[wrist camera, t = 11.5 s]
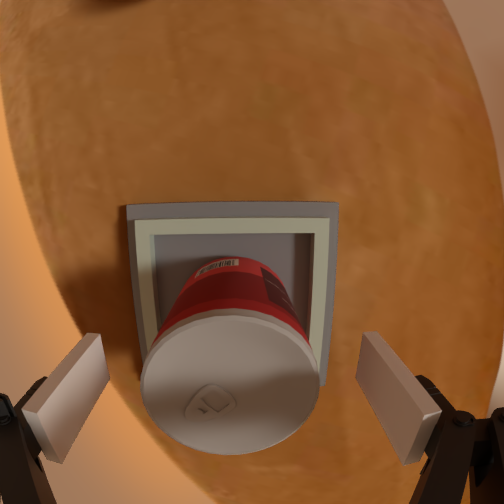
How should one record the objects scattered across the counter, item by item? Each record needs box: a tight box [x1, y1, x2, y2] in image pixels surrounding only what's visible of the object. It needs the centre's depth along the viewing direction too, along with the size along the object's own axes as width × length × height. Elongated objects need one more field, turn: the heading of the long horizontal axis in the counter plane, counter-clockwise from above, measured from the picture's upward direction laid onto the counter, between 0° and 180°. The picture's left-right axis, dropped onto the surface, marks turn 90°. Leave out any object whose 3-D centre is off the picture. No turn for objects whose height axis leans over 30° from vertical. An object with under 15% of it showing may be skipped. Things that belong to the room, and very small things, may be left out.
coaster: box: [126, 201, 339, 386], centre depth 23 cm, size 15×15×2 cm
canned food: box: [140, 256, 320, 455], centre depth 18 cm, size 8×8×11 cm
